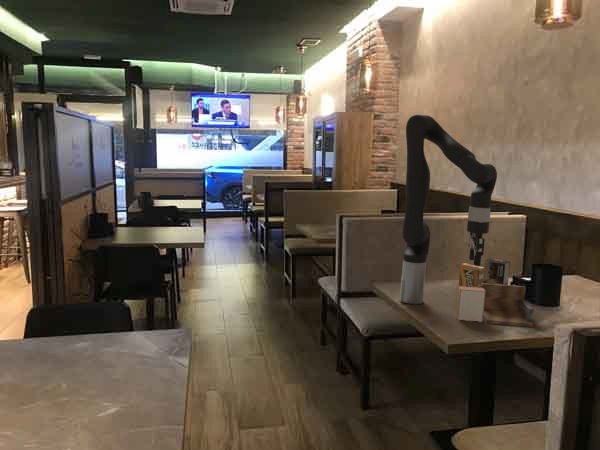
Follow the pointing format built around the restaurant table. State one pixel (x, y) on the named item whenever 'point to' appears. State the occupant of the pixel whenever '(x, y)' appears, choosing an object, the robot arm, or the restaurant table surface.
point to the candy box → (471, 276)
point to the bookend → (506, 305)
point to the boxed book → (470, 303)
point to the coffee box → (496, 271)
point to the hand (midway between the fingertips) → (474, 262)
